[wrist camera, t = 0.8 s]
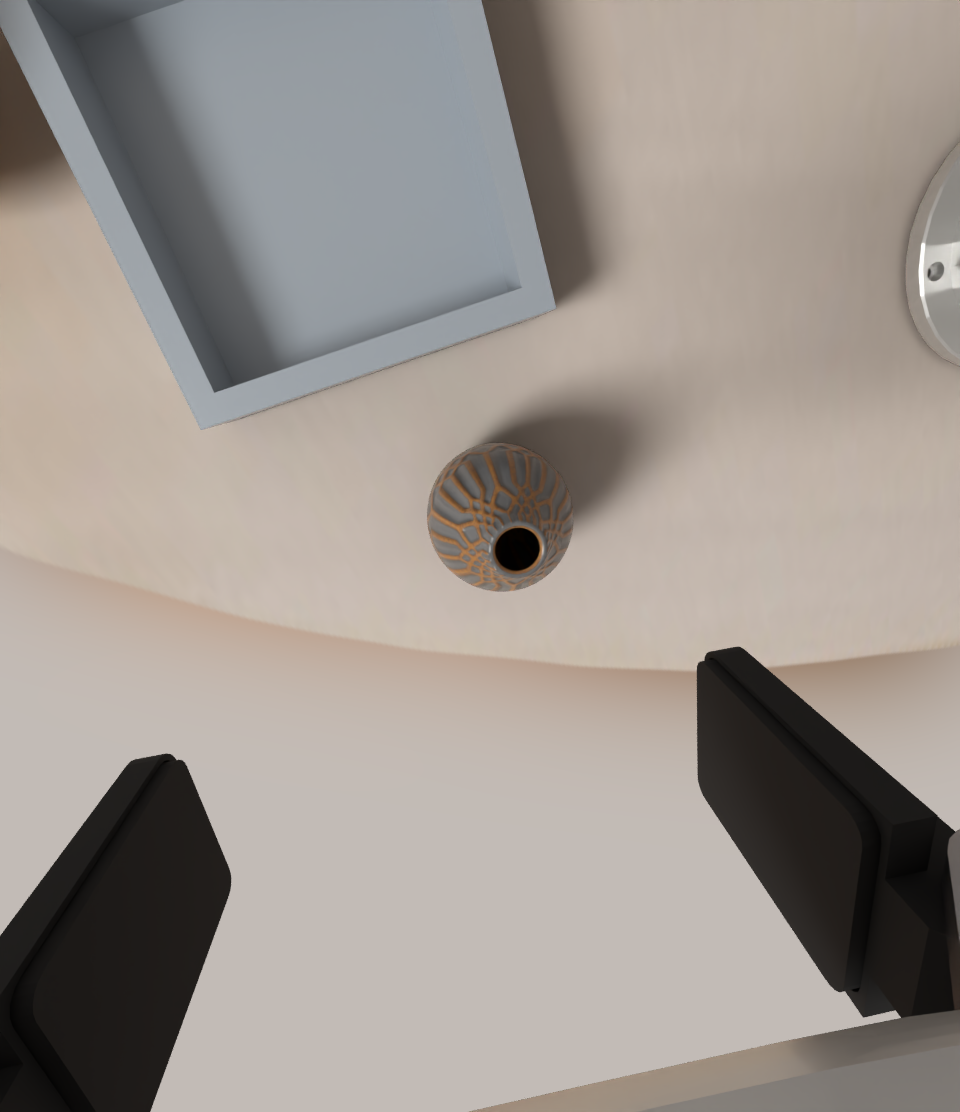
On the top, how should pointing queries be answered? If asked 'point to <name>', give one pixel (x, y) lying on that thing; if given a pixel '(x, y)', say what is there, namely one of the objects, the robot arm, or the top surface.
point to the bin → (291, 181)
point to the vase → (500, 517)
